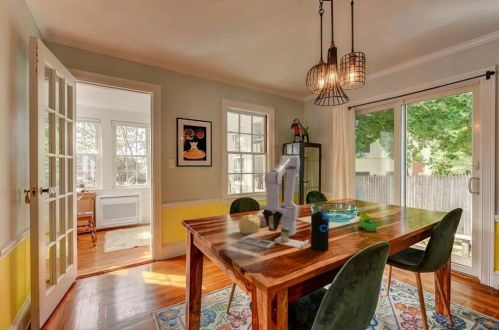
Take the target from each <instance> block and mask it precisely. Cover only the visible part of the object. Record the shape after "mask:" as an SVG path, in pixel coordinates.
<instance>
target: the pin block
mask: <svg viewBox="0 0 499 330" xmlns="http://www.w3.org/2000/svg"><path fill="white" fill-rule="evenodd" d="M247 240H252V241H253V242H250V241H247ZM237 242H238V243H240V244H245V245H249V246H254V247H259V248H263V249H269V248H271V247H272V246H274V245H276V244H277V243H276V242H275V241H271V240H266V239H262V238H261V239H260V238H256V237H252V236H249V235H247V236H246V237H244V238H241V239H238V240H237ZM259 243H260V244H259ZM261 243H266V245H263V244H261Z"/></svg>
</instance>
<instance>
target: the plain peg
mask: <svg viewBox="0 0 499 330" xmlns="http://www.w3.org/2000/svg"><path fill="white" fill-rule="evenodd" d="M281 232H282V234H281V236H282V237H281V241H282V242H289V239H290V236H289V228H281V227H280V233H281Z"/></svg>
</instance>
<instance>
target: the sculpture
mask: <svg viewBox="0 0 499 330" xmlns="http://www.w3.org/2000/svg"><path fill="white" fill-rule="evenodd" d="M257 216H258V215H254V214H251V213H249V214H246V215H243V216H242V217H241V218H240V219H239V221H238V229H239V232H240V233H241V234H243V235H247V236H250V235H252V234H256V233H259V231H260V228H261V227H260V218H259V217H257Z"/></svg>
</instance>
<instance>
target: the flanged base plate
mask: <svg viewBox="0 0 499 330" xmlns="http://www.w3.org/2000/svg"><path fill="white" fill-rule="evenodd" d="M281 237H282V235H280V236H278V237H277V238H275V239H274V242H276V244H278V245H279V244H280V245H286V246H289V247H290V246H291V247H295V248H300V249H304V248H305V247H306V246H308V244H310V240H309V239H306V240H304V241H302V240H296V239H291V238H289V242H282V241H281Z"/></svg>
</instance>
